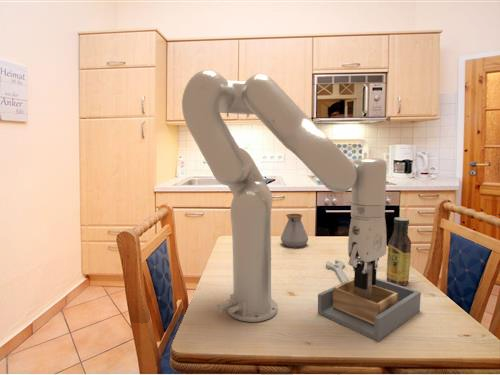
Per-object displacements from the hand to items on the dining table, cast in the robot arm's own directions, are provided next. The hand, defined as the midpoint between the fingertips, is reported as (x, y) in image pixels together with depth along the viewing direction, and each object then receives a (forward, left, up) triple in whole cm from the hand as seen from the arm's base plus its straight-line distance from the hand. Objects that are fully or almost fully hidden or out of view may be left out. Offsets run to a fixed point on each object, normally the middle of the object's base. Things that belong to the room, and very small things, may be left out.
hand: (365, 284), depth 81 cm
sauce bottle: (+25, +4, -8) cm, 27 cm away
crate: (0, 0, -6) cm, 6 cm away
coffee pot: (+27, +48, -8) cm, 56 cm away
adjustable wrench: (+16, +18, -8) cm, 26 cm away
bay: (+2, 0, -8) cm, 8 cm away
